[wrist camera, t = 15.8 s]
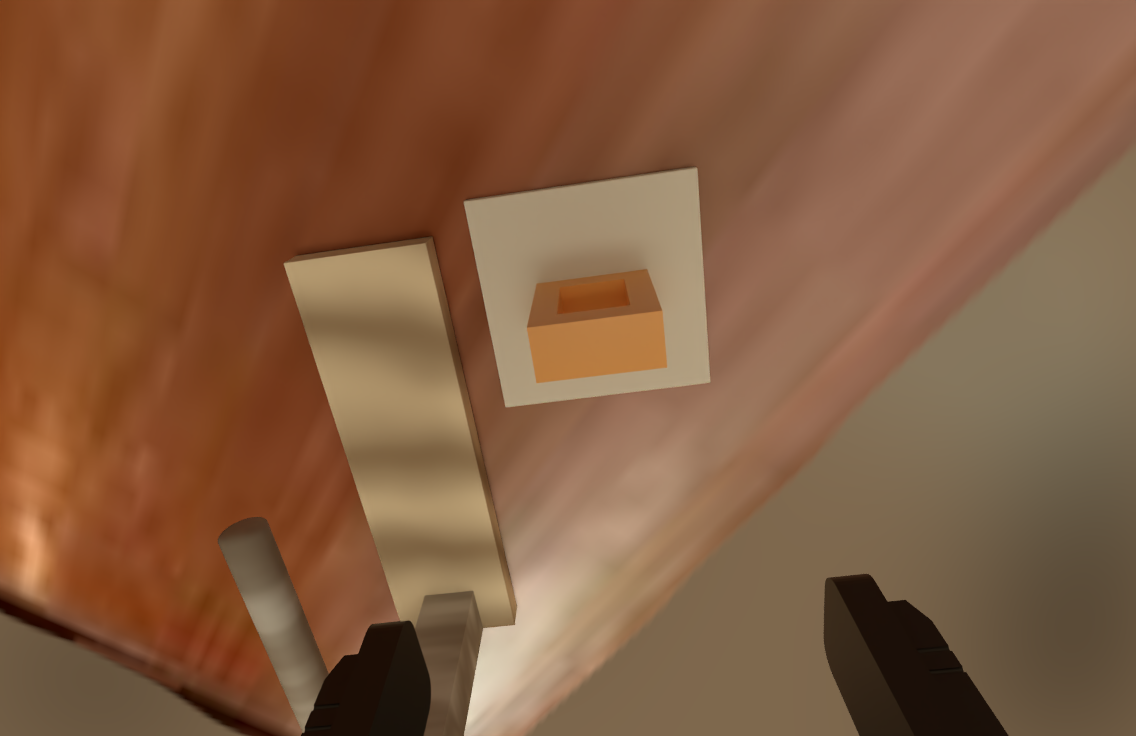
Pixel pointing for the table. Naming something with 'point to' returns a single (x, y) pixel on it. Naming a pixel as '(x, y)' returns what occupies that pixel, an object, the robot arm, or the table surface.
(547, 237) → the mat
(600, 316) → the loop
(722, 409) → the table surface
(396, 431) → the hook stand
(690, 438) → the table surface
